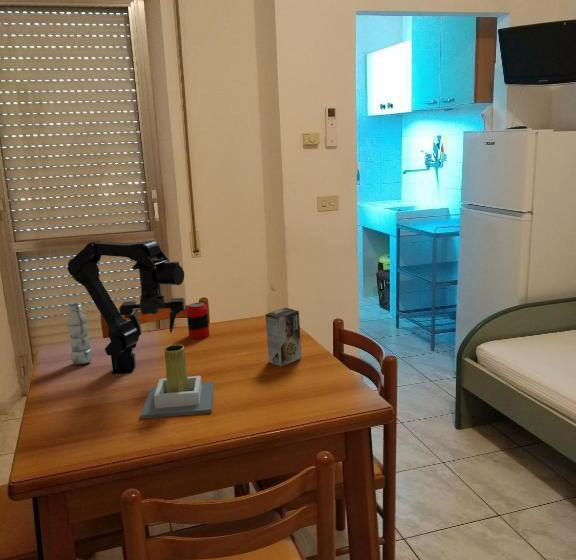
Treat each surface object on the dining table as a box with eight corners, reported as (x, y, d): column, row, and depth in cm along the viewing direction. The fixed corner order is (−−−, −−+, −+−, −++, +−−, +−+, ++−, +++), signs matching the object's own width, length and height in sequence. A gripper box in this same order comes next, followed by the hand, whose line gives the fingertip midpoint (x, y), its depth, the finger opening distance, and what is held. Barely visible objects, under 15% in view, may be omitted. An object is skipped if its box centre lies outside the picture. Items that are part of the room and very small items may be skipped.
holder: (140, 418, 142) (139, 402, 141) (151, 390, 159) (149, 375, 158) (211, 412, 143) (210, 396, 142) (214, 384, 161) (212, 370, 160)
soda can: (210, 332, 210) (207, 301, 207) (208, 338, 202) (206, 306, 200) (190, 333, 209) (187, 302, 207) (187, 339, 202) (185, 308, 199)
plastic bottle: (94, 364, 182) (86, 305, 177) (72, 368, 179) (63, 308, 175) (93, 358, 188) (85, 301, 183) (71, 361, 185) (63, 304, 181)
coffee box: (287, 354, 183) (285, 307, 179) (302, 358, 178) (299, 310, 175) (267, 362, 176) (264, 313, 173) (281, 367, 172) (279, 317, 168)
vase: (194, 396, 151) (190, 346, 148) (176, 404, 147) (171, 353, 144) (181, 390, 155) (176, 342, 152) (163, 398, 151) (157, 348, 148)
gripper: (112, 292, 156) (119, 344, 160) (179, 287, 158) (184, 339, 161) (120, 283, 167) (126, 332, 170) (183, 279, 169) (187, 328, 172)
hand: (155, 333), depth 168 cm, fingers open, 9 cm apart
